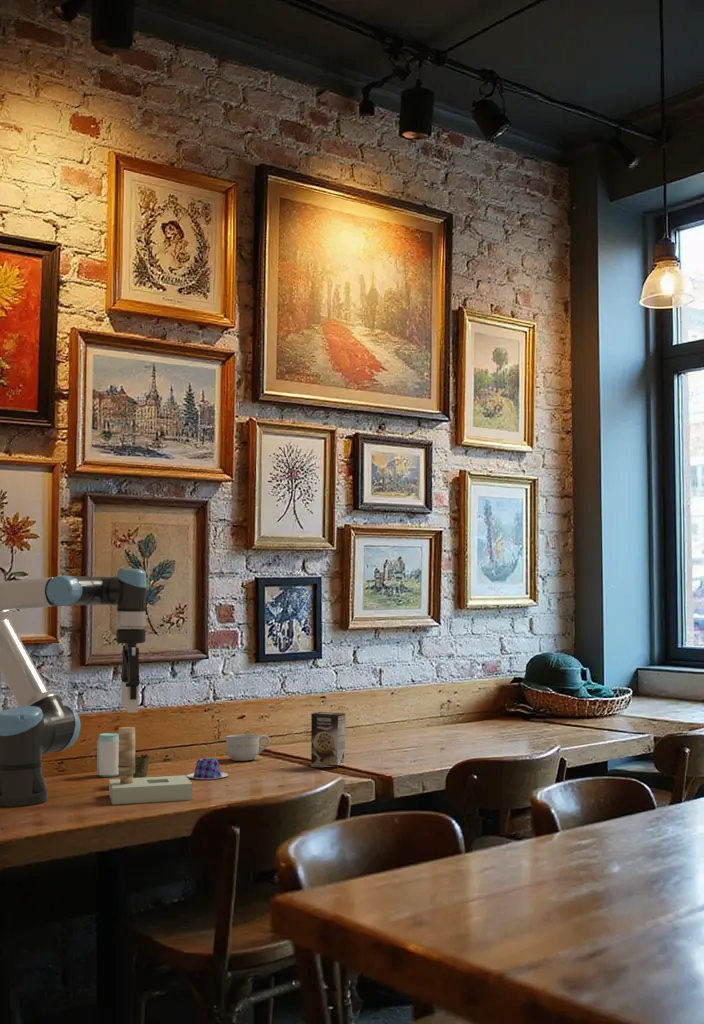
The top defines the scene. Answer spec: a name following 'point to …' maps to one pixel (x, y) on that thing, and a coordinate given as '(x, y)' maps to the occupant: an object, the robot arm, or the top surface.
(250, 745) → the teacup
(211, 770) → the pudding
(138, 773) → the cup
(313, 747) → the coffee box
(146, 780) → the board
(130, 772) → the peg
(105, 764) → the can
